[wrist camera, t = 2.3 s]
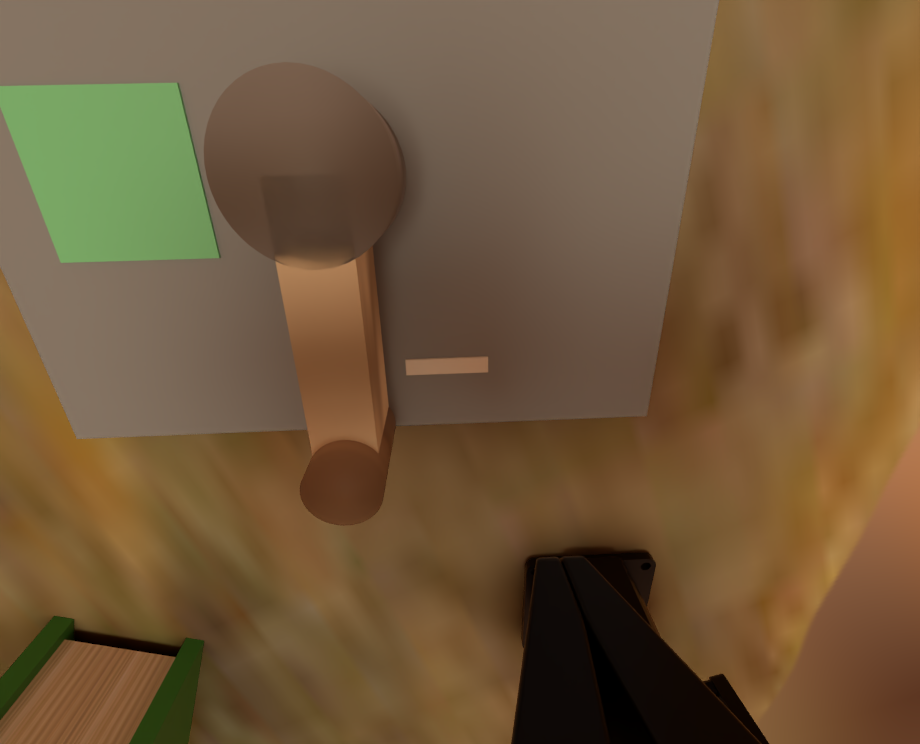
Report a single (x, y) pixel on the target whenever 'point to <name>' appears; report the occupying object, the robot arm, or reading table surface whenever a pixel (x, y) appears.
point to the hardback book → (97, 692)
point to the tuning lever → (318, 257)
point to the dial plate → (399, 248)
